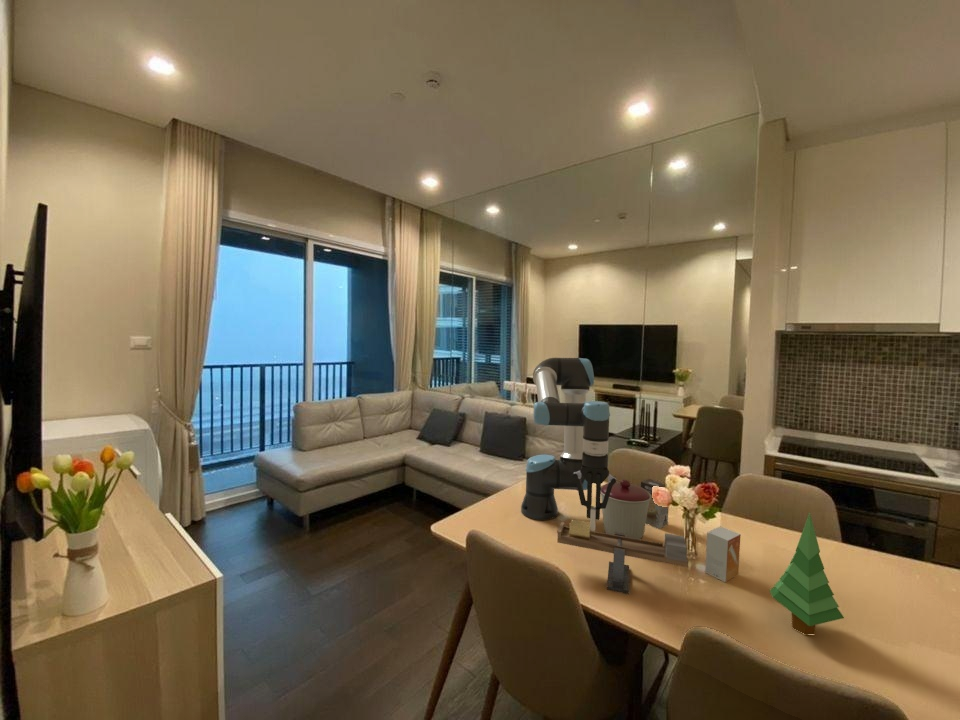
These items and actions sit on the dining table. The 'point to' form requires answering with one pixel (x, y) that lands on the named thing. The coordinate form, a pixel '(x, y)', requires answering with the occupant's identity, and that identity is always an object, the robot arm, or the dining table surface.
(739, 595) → the dining table surface
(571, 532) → the block
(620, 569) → the beam stand
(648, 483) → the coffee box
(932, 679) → the dining table surface
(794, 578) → the decorative tree
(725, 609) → the dining table surface
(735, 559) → the small box
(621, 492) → the canister
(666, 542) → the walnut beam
